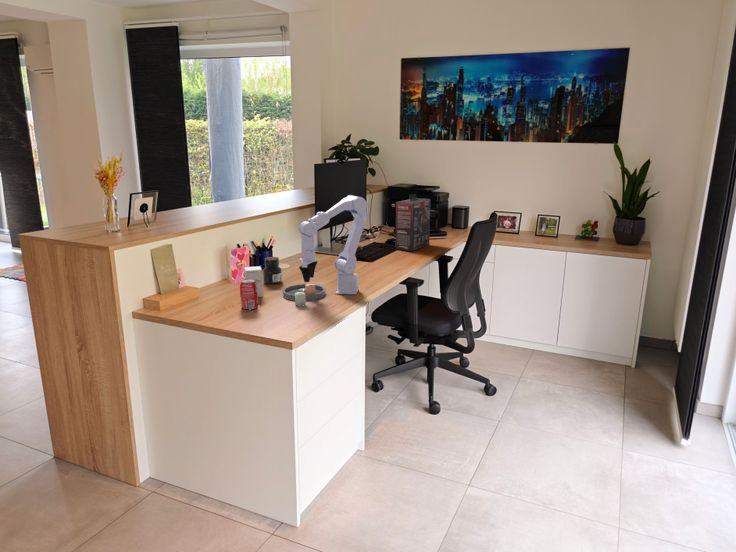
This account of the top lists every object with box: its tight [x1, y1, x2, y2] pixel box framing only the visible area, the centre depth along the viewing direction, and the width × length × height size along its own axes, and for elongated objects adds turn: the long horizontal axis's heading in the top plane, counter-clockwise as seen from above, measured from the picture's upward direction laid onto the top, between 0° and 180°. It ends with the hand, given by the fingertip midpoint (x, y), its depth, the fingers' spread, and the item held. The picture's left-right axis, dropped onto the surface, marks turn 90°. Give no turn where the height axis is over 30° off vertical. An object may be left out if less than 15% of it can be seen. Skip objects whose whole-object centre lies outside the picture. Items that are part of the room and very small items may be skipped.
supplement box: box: [243, 265, 264, 298], centre depth 248 cm, size 7×7×13 cm
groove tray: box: [282, 283, 326, 301], centre depth 250 cm, size 19×19×2 cm
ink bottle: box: [262, 256, 283, 285], centre depth 269 cm, size 10×9×12 cm
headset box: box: [394, 193, 431, 252], centre depth 344 cm, size 25×12×33 cm, turn 148°
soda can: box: [239, 278, 259, 310], centre depth 230 cm, size 7×7×12 cm
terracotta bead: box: [305, 283, 316, 295], centre depth 245 cm, size 4×4×5 cm
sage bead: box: [294, 292, 306, 307], centre depth 235 cm, size 4×4×5 cm
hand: (308, 279), depth 243 cm, fingers open, 7 cm apart
